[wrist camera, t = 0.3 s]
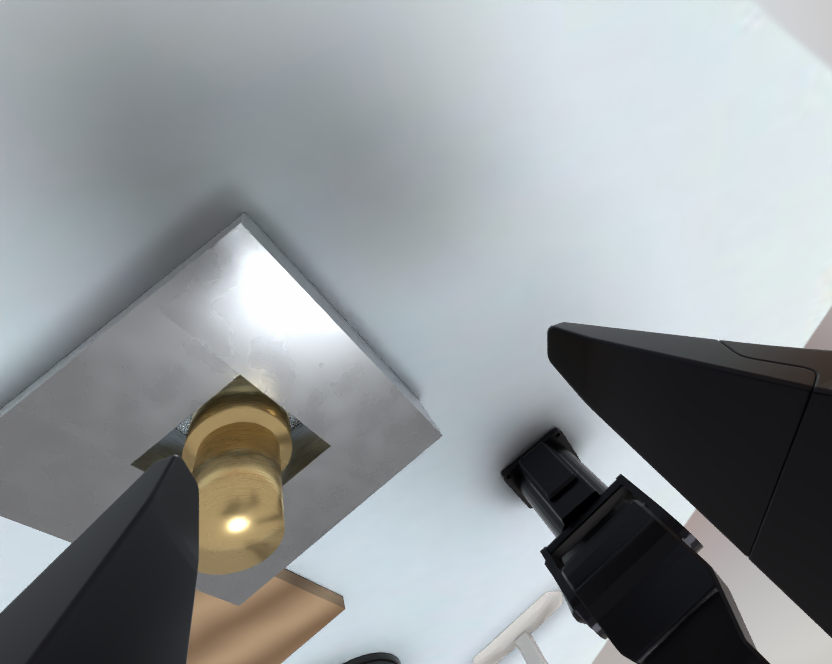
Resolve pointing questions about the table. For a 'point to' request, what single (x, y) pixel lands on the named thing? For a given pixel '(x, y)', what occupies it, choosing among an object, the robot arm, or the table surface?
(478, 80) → the table surface
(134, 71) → the table surface
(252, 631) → the board
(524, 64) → the table surface
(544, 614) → the heart sculpture
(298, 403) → the plate
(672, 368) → the robot arm
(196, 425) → the knob
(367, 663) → the french press
